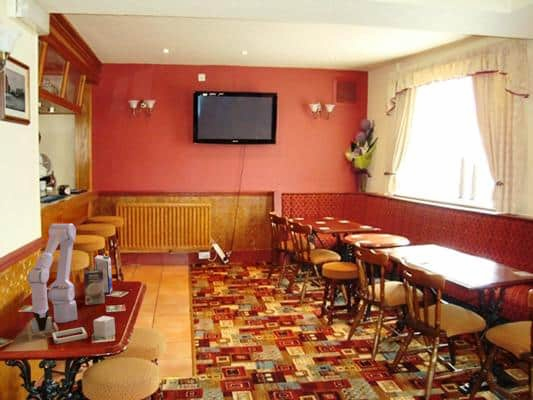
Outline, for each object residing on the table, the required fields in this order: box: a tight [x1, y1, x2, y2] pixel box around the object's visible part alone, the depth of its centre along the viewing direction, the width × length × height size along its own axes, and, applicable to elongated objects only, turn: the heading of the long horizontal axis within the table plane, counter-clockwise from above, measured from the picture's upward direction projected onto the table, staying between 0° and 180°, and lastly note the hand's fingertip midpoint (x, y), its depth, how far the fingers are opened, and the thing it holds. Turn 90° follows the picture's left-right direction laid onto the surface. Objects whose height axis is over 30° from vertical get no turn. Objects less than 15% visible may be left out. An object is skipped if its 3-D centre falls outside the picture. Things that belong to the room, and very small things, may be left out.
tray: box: [52, 326, 88, 345], centre depth 206 cm, size 12×9×2 cm
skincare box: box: [92, 315, 116, 338], centre depth 208 cm, size 6×6×7 cm
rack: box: [26, 321, 59, 342], centre depth 210 cm, size 11×10×4 cm
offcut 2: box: [44, 330, 55, 339], centre depth 208 cm, size 4×2×2 cm, turn 120°
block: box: [30, 316, 53, 333], centre depth 211 cm, size 8×2×6 cm, turn 120°
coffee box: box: [83, 269, 105, 306], centre depth 253 cm, size 9×6×16 cm
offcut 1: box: [32, 332, 44, 341], centre depth 205 cm, size 4×2×2 cm, turn 120°
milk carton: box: [94, 254, 113, 295], centre depth 270 cm, size 7×7×20 cm
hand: (42, 329), depth 211 cm, fingers closed on block, 1 cm apart
